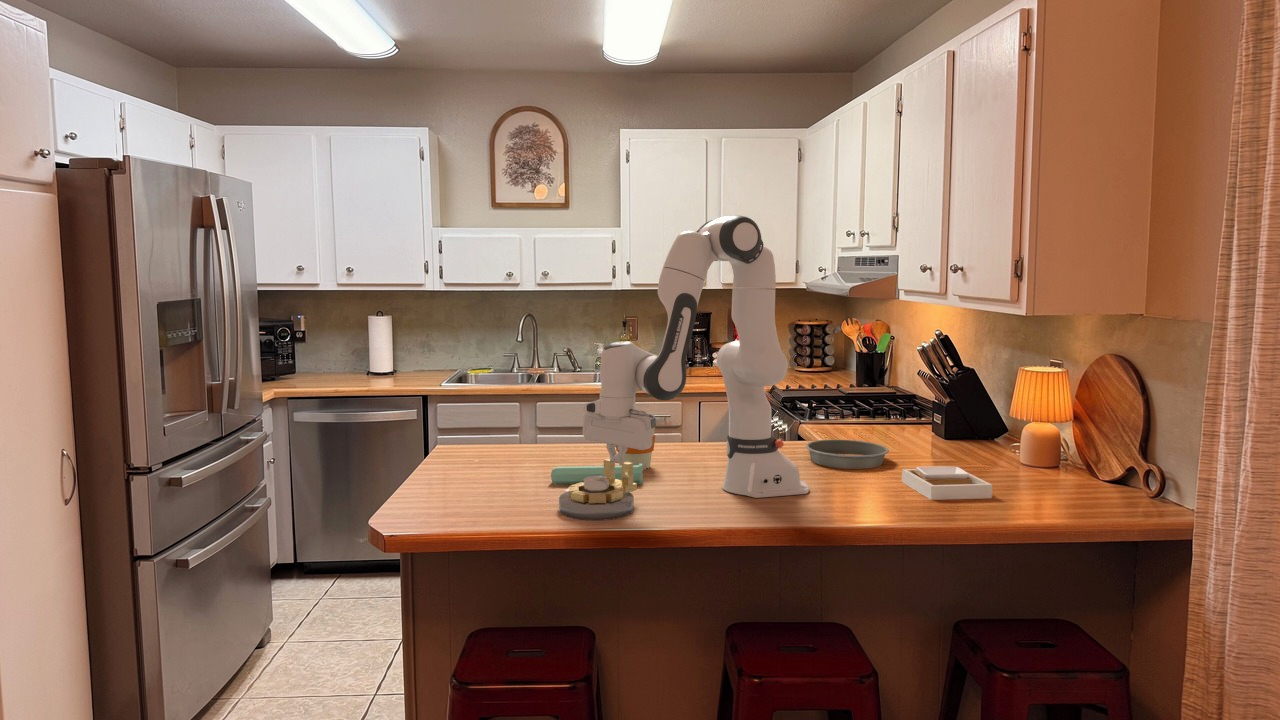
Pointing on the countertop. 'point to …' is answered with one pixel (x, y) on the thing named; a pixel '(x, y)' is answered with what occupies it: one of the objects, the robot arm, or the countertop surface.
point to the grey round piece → (595, 509)
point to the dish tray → (947, 488)
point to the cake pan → (830, 449)
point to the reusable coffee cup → (641, 455)
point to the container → (589, 474)
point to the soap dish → (943, 475)
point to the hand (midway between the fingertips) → (616, 462)
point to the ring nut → (615, 486)
